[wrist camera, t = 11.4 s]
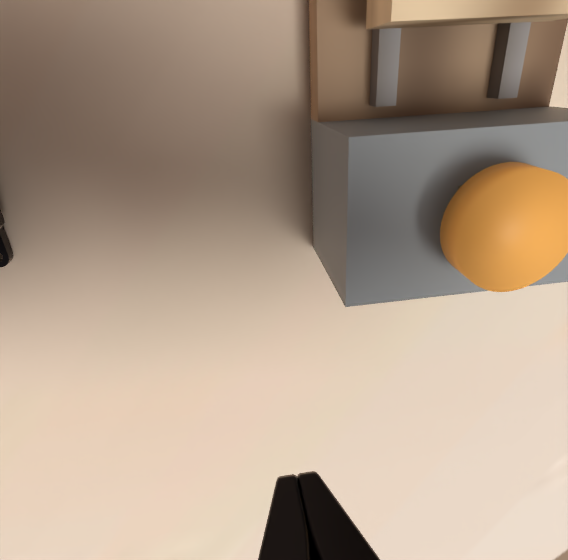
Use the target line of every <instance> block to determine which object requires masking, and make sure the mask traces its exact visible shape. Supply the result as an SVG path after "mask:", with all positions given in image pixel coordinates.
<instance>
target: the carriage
mask: <svg viewBox="0 0 568 560" xmlns="http://www.w3.org/2000/svg"><path fill="white" fill-rule="evenodd" d="M567 18H568V0H367V12H366V29H388V28H410V27H431V26H453V25H474V24H496V23H518V22H539V21H554V20H561V19H567Z"/></svg>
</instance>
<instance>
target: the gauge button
mask: <svg viewBox="0 0 568 560" xmlns="http://www.w3.org/2000/svg"><path fill="white" fill-rule="evenodd" d="M440 243H441V248H442V251H443V253H444V256H445V257H446V259H447V260H448V262H449V263H450V264H451V265H452V266H453V267H454V268H456V269H457V270H458V271H459V272H460V273H462V274H463V275H464V276H465V277H466V278H468V279H469V280H470V281H471V282H473V283H474V284H475V285H477V286H478V287H480V288H483V289H485V290H489V291H495V292H507V291H513V290H517V289H521V288H524V287H526V286H529V285H531V284H533V283H535V282H537V281H538V280H540V279H541V278H543V277H544V276H546V275H547V274H548V273H549V272H551V271H552V270H553V269H554V268H555V267H556V266H557V265H558V264H559V263H560V262H561V261H562V260H563V258H564V257H565V256H566V254H567V253H568V179H567V178H565V177H564V176H563V175H561V174H559V173H556V172H553V171H550V170H546V169H543V168H540V167H536V166H533V165H529V164H526V163H521V162H505V163H499V164H496V165H492V166H490V167H488V168H485V169H483V170H482V171H480V172H478V173H476V174H475V175H474V176H472V177H471V178H470V179H468V180H467V181H466V182H465V183H464V184H463V185H460V186H459V187H458V190H457V192H456V193H455V194H454V196H453V197H452V199H451V200H450V202H449V204H448V205H447V208H446V210H445V212H444V215H443V218H442V222H441V227H440Z"/></svg>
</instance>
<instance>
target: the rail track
mask: <svg viewBox="0 0 568 560" xmlns="http://www.w3.org/2000/svg"><path fill="white" fill-rule="evenodd" d="M366 12H367V0H309V43H310V96H311V119H312V120H314V121H317V122H330V121H344V120H359V119H374V118H388V117H403V116H418V115H432V114H447V113H462V112H476V111H491V110H506V109H520V108H535V107H549V103H550V99H551V94H552V90H553V85H554V81H555V76H556V71H557V67H558V62H559V58H560V53H561V49H562V44H563V40H564V35H565V31H566V26H567V22H568V18H567V19H561V20H554V21H539V22H518V23H496V24H474V25H453V26H431V27H410V28H388V29H366Z"/></svg>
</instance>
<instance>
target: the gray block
mask: <svg viewBox="0 0 568 560" xmlns="http://www.w3.org/2000/svg"><path fill="white" fill-rule="evenodd" d="M311 149H312V202H313V247H314V249H315V251H316V253H317V255H318V257H319V259H320V260H321V262H322V264H323V266H324V268H325V270H326V272H327V273H328V275H329V277H330V279H331V281H332V283H333V285H334V286H335V288H336V290H337V292H338V294H339V296H340V298H341V300H342V301H343V303H344V305H345V307H349V306H358V305H366V304H375V303H384V302H393V301H402V300H410V299H419V298H428V297H437V296H445V295H454V294H463V293H472V292H481V291H489V290H485V289H483V288H480V287H478V286H477V285H475V284H474V283H473V282H471V281H470V280H469V279H468V278H466V277H465V276H464V275H463V274H462V273H460V272H459V271H458V270H457V269H456V268H454V267H453V266H452V265H451V264H450V263H449V262H448V260H447V259H446V257H445V256H444V253H443V251H442V248H441V243H440V227H441V222H442V218H443V215H444V212H445V210H446V208H447V205H448V204H449V202H450V200H451V199H452V197H453V196H454V194H455V193H456V192H457V190H458V187H459V186H460V185H463V184H464V183H465V182H466V181H467V180H468V179H470V178H471V177H472V176H474V175H475V174H476V173H478V172H480V171H482V170H483V169H485V168H488V167H490V166H492V165H496V164H499V163H505V162H521V163H526V164H529V165H533V166H536V167H540V168H543V169H546V170H550V171H553V172H556V173H559V174H561V175H563V176H564V177H565V178H567V179H568V108H559V107H535V108H520V109H506V110H491V111H476V112H462V113H447V114H432V115H418V116H403V117H388V118H374V119H359V120H344V121H330V122H317V121H314V120H312V119H311ZM560 282H568V253H567V254H566V256H565V257H564V258H563V260H562V261H561V262H560V263H559V264H558V265H557V266H556V267H555V268H554V269H553V270H552V271H551V272H549V273H548V274H547V275H546V276H544V277H543V278H541V279H540V280H538V281H537V282H535V283H533V284H531V285H529V286H533V285H542V284H551V283H560Z"/></svg>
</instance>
